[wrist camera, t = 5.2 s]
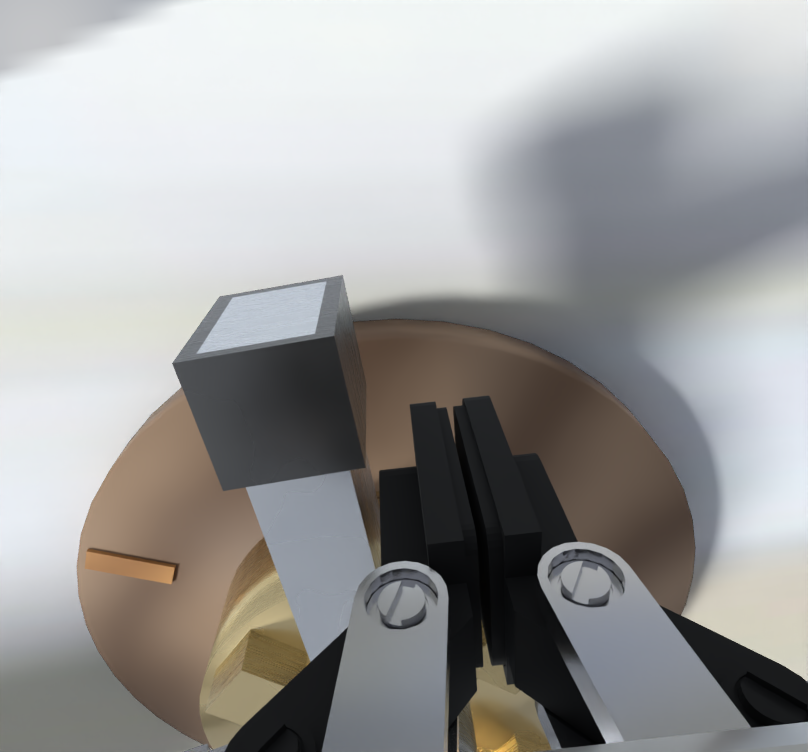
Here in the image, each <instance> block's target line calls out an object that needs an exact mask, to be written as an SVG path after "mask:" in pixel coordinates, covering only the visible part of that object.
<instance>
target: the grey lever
mask: <svg viewBox="0 0 808 752" xmlns="http://www.w3.org/2000/svg"><path fill="white" fill-rule="evenodd" d="M172 364H173V366H174V369H175V371H176V374H177V376H178V379H179V381H180V384H181V386H182V389H183V391H184V394H185V396H186V399H187V401H188V404H189V406H190V409H191V411H192V414H193V417H194V419H195V422H196V424H197V427H198V429H199V432H200V434H201V437H202V439H203V442H204V444H205V447H206V449H207V452H208V454H209V457H210V459H211V462H212V464H213V467H214V470H215V472H216V475H217V477H218V480H219V482H220V485H221V487H222V490H223V491H227V490H233V489H239V488H245V487H246V490H247V492H248V495H249V498H250V500H251V503H252V506H253V508H254V511H255V514H256V516H257V519H258V522H259V525H260V527H261V530H262V533H263V535H264V537H263V538H262V539H261V540H260V541H259V542H258V543H257V544H256V545H255V546H254V547H253V548H252V549H251V551H250V552H249V553H248V554H247V555H246V556H245V558H244V560H243V561H242V563H241V564H240V566H239V567H238V569H237V570H236V573H235V575H234V577H233V579H232V582H231V584H230V587H229V590H228V594H227V597H226V601H225V605H224V608H223V612H222V615H221V619H220V622H219V626H218V630H217V633H216V637H215V640H214V644H213V647H212V651H211V655H210V658H209V662H208V665H207V669H206V672H205V676H204V680H203V684H202V688H201V693H200V717H201V722H202V726H203V730H204V732H205V734H206V737H207V739H208V741H209V743H210V745H211V746H212V748H213V749H216V748H219V747H221V746H224V745H227V744H229V742H230V740H231V739H232V738H233V737H234V736H235V734H236V733H237V732H238V731H239V730H240V729H241V727H242V726H243V725H244V724H245V723H246V722H247V721H249V720H250V719H251V718H252V717H253V716H254V715H255V714H256V713H257V712H258V711H259V710H260V709H261V708H262V707H263V706H264V705H266V704H267V703H268V702H269V701H270V700H271V699H272V698H273V697H274V696H275V695H276V694H277V693H278V692H279V691H280V690H281V689H283V688H284V687H285V686H286V685H287V684H288V683H289V682H290V681H291V680H292V679H293V678H294V677H295V676H296V675H297V674H298V673H300V672H301V671H302V670H303V669H304V668H305V667H306V666H307V665H308V664H309V663H310V662H311V661H312V660H313V659H314V658H315V657H317V656H318V655H319V654H320V653H321V652H322V651H323V650H324V649H325V648H326V647H327V646H328V645H329V644H330V643H331V642H332V641H334V640H335V639H336V638H337V637H338V636H339V635H340V634H341V633H342V632H343V631H344V630H345V629H346V628H347V627H348V625H349V620H350V615H351V610H352V606H353V601H354V596H355V594H356V591H357V589H358V586H359V584H360V583H361V582H362V581H363V580H364V579H365V577H366V576H367V575H368V574H370V573H371V572H373V571H374V570H375V569H377V568H378V567H381V540H380V496H379V491H375V486H374V482H373V478H372V473H371V469H370V465H369V461H368V456H367V452H366V388H367V384H366V380H365V375H364V370H363V366H362V361H361V357H360V352H359V348H358V343H357V339H356V334H355V329H354V325H353V320H352V316H351V311H350V307H349V302H348V297H347V293H346V288H345V284H344V279H343V275H342V276H336V277H330V278H325V279H319V280H313V281H307V282H302V283H296V284H290V285H284V286H278V287H273V288H267V289H261V290H255V291H250V292H244V293H238V294H232V295H226V296H221V297H219V298H218V300H217V301H216V302H215V304H214V305H213V307H212V308H211V310H210V311H209V312H208V314H207V315H206V317H205V318H204V319H203V321H202V322H201V324H200V325H199V326H198V328H197V329H196V331H195V332H194V334H193V335H192V336H191V338H190V339H189V341H188V342H187V343H186V345H185V346H184V348H183V349H182V350H181V352H180V353H179V355H178V356H177V357H176V359H175V360H174V362H173V363H172ZM481 623H482V619H481ZM482 644H483V667H480V668H476V678H477V692H476V693H475V694H474V696H473V697H472V698H471V700H470V701H469V702H468V703H467V705H466V706H465V707H464V709H463V710H462V711H461V713H460V714H459V715H458V717H459V752H537V751H546V750H552V749H551V746H550V744H549V742H548V739H547V737H546V735H545V732H544V730H543V728H542V725H541V723H540V720H539V718H538V715H537V711H536V708H535V700H534V699H532V698H531V697H529V696H528V695H526V694H525V693H524V692H522V691H521V690H519V689H518V688H516V687H515V685H514V684H511V685H507V682H506V678H505V674H504V669H503V665H496V666H492V665H491V662H490V657H489V653H488V648H487V643H486V638H485V633H484V629H483V624H482Z"/></svg>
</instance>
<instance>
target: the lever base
mask: <svg viewBox="0 0 808 752" xmlns="http://www.w3.org/2000/svg"><path fill="white" fill-rule="evenodd" d="M353 325H354V329H355V334H356V339H357V343H358V348H359V352H360V357H361V361H362V366H363V370H364V375H365V380H366V384H367V388H366V452H367V456H368V461H369V465H370V469H371V473H372V478H373V482H374V486H375V491H379V470H386V469H396V468H405V467H414V466H416V461H415V452H414V442H413V433H412V423H411V414H410V404H416V403H425V402H434V401H435V402H436V406H437V408H443V407H446V408H447V411H448V416H449V420H450V424H451V428H452V432H453V437H454V441H455V432H454V416H453V406H460V405H462V399H463V398H470V397H479V396H490V398H491V401H492V403H493V406H494V409H495V411H496V414H497V416H498V419H499V421H500V424H501V427H502V429H503V432H504V434H505V437H506V440H507V442H508V445H509V447H510V450H511V453H512V455H521V454H530V453H536V454H538V456H539V458H540V460H541V462H542V464H543V466H544V468H545V471H546V473H547V475H548V477H549V479H550V482H551V484H552V486H553V488H554V490H555V492H556V495H557V497H558V499H559V501H560V503H561V506H562V508H563V510H564V512H565V514H566V517H567V519H568V521H569V523H570V525H571V528H572V530H573V532H574V534H575V536H576V539H577V541H578V542H585V543H593V544H596V545H599V546H602V547H605V548H607V549H609V550H611V551H612V552H614V553H616V554H617V555H619V556H620V557H621V558H622V559H623V560H624V561H625V562H626V563H627V564H628V565H629V566H630V567H631V568H632V570H633V571H634V572H635V574H636V575H637V576H638V578H639V579H640V580H641V582H642V583H643V584H644V586H645V587H646V588H647V590H648V591H649V592H650V594H651V595H652V596H653V598H654V599H655V600H656V602H657V603H658V604H659V605H661V606H663V607H665V608H667V609H669V610H671V611H673V612H675V613H677V614H679V615H681V614H682V611H683V609H684V607H685V605H686V601H687V597H688V593H689V590H690V586H691V582H692V578H693V570H694V558H695V540H694V530H693V520H692V516H691V513H690V509H689V506H688V503H687V499H686V496H685V492H684V489H683V487H682V485H681V483H680V481H679V480H678V478H677V476H676V474H675V472H674V470H673V468H672V466H671V464H670V462H669V460H668V459H667V458H666V456H665V455H664V454H663V452H662V451H661V450H660V449H659V447H658V446H657V445H656V443H655V442H654V441H653V440H652V438H651V437H650V436H649V434H648V433H647V432H646V431H645V429H644V428H643V427H642V425H641V424H640V423H639V422H638V420H637V419H636V418H635V417H634V415H633V414H632V413H631V412H630V410H629V409H628V408H627V407H626V406H625V405H624V404H623V403H622V402H621V401H620V400H618V399H617V398H616V397H615V396H614V395H613V394H612V393H611V392H610V391H609V390H608V389H607V388H605V387H604V386H603V385H602V384H601V383H600V382H598V381H597V380H595V379H594V378H592V377H591V376H589V375H588V374H586V373H585V372H583V371H582V370H580V369H579V368H577V367H576V366H575V365H573V364H572V363H570V362H569V361H567V360H564V359H562V358H560V357H558V356H556V355H554V354H552V353H550V352H548V351H546V350H544V349H541V348H539V347H537V346H535V345H533V344H531V343H528V342H525V341H522V340H519V339H516V338H512V337H509V336H506V335H503V334H500V333H497V332H494V331H491V330H487V329H481V328H476V327H470V326H465V325H459V324H454V323H448V322H442V321H424V320H406V319H387V320H372V321H357V322H353ZM263 537H264V535H263V533H262V530H261V527H260V525H259V522H258V519H257V516H256V514H255V511H254V508H253V506H252V503H251V500H250V498H249V495H248V492H247V490H246V487H245V488H239V489H233V490H227V491H223V490H222V487H221V485H220V482H219V480H218V477H217V475H216V472H215V470H214V467H213V464H212V462H211V459H210V457H209V454H208V452H207V449H206V447H205V444H204V442H203V439H202V437H201V434H200V432H199V429H198V427H197V424H196V422H195V419H194V417H193V414H192V411H191V409H190V406H189V404H188V401H187V399H186V396H185V394H184V391H183V389H182V388H180V389H179V390H178V391H177V392H176V393H175V394H174V395H173V396H172V397H170V398H169V399H168V400H167V401H166V402H165V403H164V404H163V405H161V406H160V407H159V408H158V409H157V410H156V411H155V412H154V413H153V414H151V416H150V417H149V418H148V419H147V421H146V422H145V423H144V424H143V425H142V427H141V428H140V429H139V430H138V432H137V433H136V434H135V435H134V437H133V438H132V439H131V440H130V441H129V443H128V444H127V446H126V447H125V449H124V450H123V451H122V453H121V454H120V456H119V457H118V459H117V460H116V462H115V463H114V465H113V466H112V468H111V469H110V471H109V472H108V474H107V476H106V478H105V480H104V481H103V483H102V485H101V487H100V489H99V490H98V492H97V494H96V496H95V497H94V499H93V501H92V503H91V506H90V509H89V512H88V515H87V518H86V521H85V524H84V527H83V530H82V533H81V537H80V545H79V553H78V560H77V578H78V593H79V599H80V603H81V607H82V611H83V615H84V619H85V622H86V626H87V628H88V630H89V632H90V634H91V636H92V639H93V641H94V643H95V645H96V647H97V650H98V652H99V653H100V655H101V656H102V658H103V659H104V660H105V662H106V663H107V665H108V666H109V668H110V669H111V671H112V672H113V674H114V675H115V677H116V678H117V679H118V680H119V681H120V682H121V683H122V684H123V685H124V686H125V688H126V689H127V690H128V691H129V692H130V693H131V694H132V695H133V696H134V697H135V698H136V699H137V700H138V701H139V702H140V703H142V704H143V705H144V706H145V707H146V708H148V709H149V710H150V711H151V712H152V713H153V714H155V715H156V716H157V717H158V718H160V719H161V720H163V721H164V722H166V723H167V724H169V725H170V726H172V727H174V728H175V729H177V730H178V731H180V732H181V733H183V734H184V735H186V736H188V737H190V738H192V739H194V740H196V741H198V742H200V743H202V744H208V746H209V748H212V746H211V745H210V743H209V741H208V739H207V737H206V734H205V732H204V730H203V726H202V722H201V717H200V693H201V688H202V684H203V680H204V676H205V672H206V669H207V665H208V662H209V658H210V655H211V651H212V647H213V644H214V640H215V637H216V633H217V630H218V626H219V622H220V619H221V615H222V612H223V608H224V605H225V601H226V597H227V594H228V590H229V587H230V584H231V582H232V579H233V577H234V575H235V573H236V570H237V569H238V567H239V566H240V564H241V563H242V561H243V560H244V558H245V556H246V555H247V554H248V553H249V552H250V551H251V549H252V548H253V547H254V546H255V545H256V544H257V543H258V542H259V541H260V540H261V539H262V538H263ZM212 749H213V748H212Z"/></svg>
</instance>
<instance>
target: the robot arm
mask: <svg viewBox="0 0 808 752" xmlns="http://www.w3.org/2000/svg"><path fill="white" fill-rule="evenodd" d="M410 414H411V423H412V433H413V442H414V452H415V461H416V466H414V467H405V468H396V469H386V470H379V496H380V540H381V567H378V568H377V569H375V570H374V571H373V572H371V573H370V574H368V575H367V576H366V577H365V579H364V580H363V581H362V582H361V583H360V584H359V586H358V589H357V591H356V594H355V596H354V601H353V606H352V610H351V615H350V620H349V625H348V627H347V628H346V629H345V630H344V631H343V632H342V633H341V634H340V635H339V636H338V637H337V638H336V639H335V640H334V641H332V642H331V643H330V644H329V645H328V646H327V647H326V648H325V649H324V650H323V651H322V652H321V653H320V654H319V655H318V656H317V657H315V658H314V659H313V660H312V661H311V662H310V663H309V664H308V665H307V666H306V667H305V668H304V669H303V670H302V671H301V672H300V673H298V674H297V675H296V676H295V677H294V678H293V679H292V680H291V681H290V682H289V683H288V684H287V685H286V686H285V687H284V688H283V689H281V690H280V691H279V692H278V693H277V694H276V695H275V696H274V697H273V698H272V699H271V700H270V701H269V702H268V703H267V704H266V705H264V706H263V707H262V708H261V709H260V710H259V711H258V712H257V713H256V714H255V715H254V716H253V717H252V718H251V719H250V720H249V721H247V722H246V723H245V724H244V725H243V726H242V727H241V729H240V730H239V731H238V732H237V733H236V734H235V736H234V737H233V738H232V739H231V740H230V742H229V744H227V745H224V746H221V747H219V748H216V749H213V750H210V748H209V746H208V744H204V745H201V746H199V747H196V748H193V749H190V750H187V751H184V752H459V717H458V715H459V714H460V713H461V711H462V710H463V709H464V707H465V706H466V705H467V703H468V702H469V701H470V700H471V698H472V697H473V696H474V694H475V693H476V692H477V678H476V668H480V667H483V644H482V624H483V629H484V633H485V638H486V643H487V648H488V653H489V657H490V662H491V665H492V666H496V665H503V669H504V674H505V678H506V682H507V685H511V684H514V685H515V687H516V688H518V689H519V690H521V691H522V692H524V693H525V694H526V695H528V696H529V697H531V698H532V699H534V700H535V708H536V711H537V715H538V718H539V720H540V723H541V725H542V728H543V730H544V732H545V735H546V737H547V739H548V742H549V744H550V746H551V749H552V750H546V751H537V752H808V681H805V680H804V679H803V678H802V677H801V676H799V675H797V674H796V673H794V672H793V671H791V670H789V669H788V668H786V667H784V666H783V665H781V664H779V663H777V662H775V661H773V660H771V659H768V658H766V657H764V656H762V655H760V654H758V653H756V652H754V651H752V650H750V649H748V648H746V647H744V646H742V645H740V644H738V643H736V642H734V641H732V640H730V639H728V638H726V637H724V636H722V635H720V634H718V633H716V632H713V631H711V630H709V629H707V628H705V627H703V626H701V625H699V624H697V623H695V622H693V621H691V620H689V619H687V618H685V617H683V616H681V615H679V614H677V613H675V612H673V611H671V610H669V609H667V608H665V607H663V606H661V605H659V604H658V603H657V602H656V600H655V599H654V598H653V596H652V595H651V594H650V592H649V591H648V590H647V588H646V587H645V586H644V584H643V583H642V582H641V580H640V579H639V578H638V576H637V575H636V574H635V572H634V571H633V570H632V568H631V567H630V566H629V565H628V564H627V563H626V562H625V561H624V560H623V559H622V558H621V557H620V556H619V555H617V554H616V553H614V552H612V551H611V550H609V549H607V548H605V547H602V546H599V545H596V544H593V543H585V542H578V541H577V539H576V536H575V534H574V532H573V530H572V528H571V525H570V523H569V521H568V519H567V517H566V514H565V512H564V510H563V508H562V506H561V503H560V501H559V499H558V497H557V495H556V492H555V490H554V488H553V486H552V484H551V482H550V479H549V477H548V475H547V473H546V471H545V468H544V466H543V464H542V462H541V460H540V458H539V456H538V454H536V453H530V454H521V455H512V453H511V450H510V447H509V445H508V442H507V440H506V437H505V434H504V432H503V429H502V427H501V424H500V421H499V419H498V416H497V414H496V411H495V409H494V406H493V403H492V401H491V398H490V396H479V397H470V398H463V399H462V405H460V406H453V416H454V432H455V441H454V437H453V432H452V428H451V424H450V420H449V416H448V411H447V408H446V407H443V408H437V406H436V402H435V401H434V402H425V403H416V404H410ZM481 619H482V623H481Z"/></svg>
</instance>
